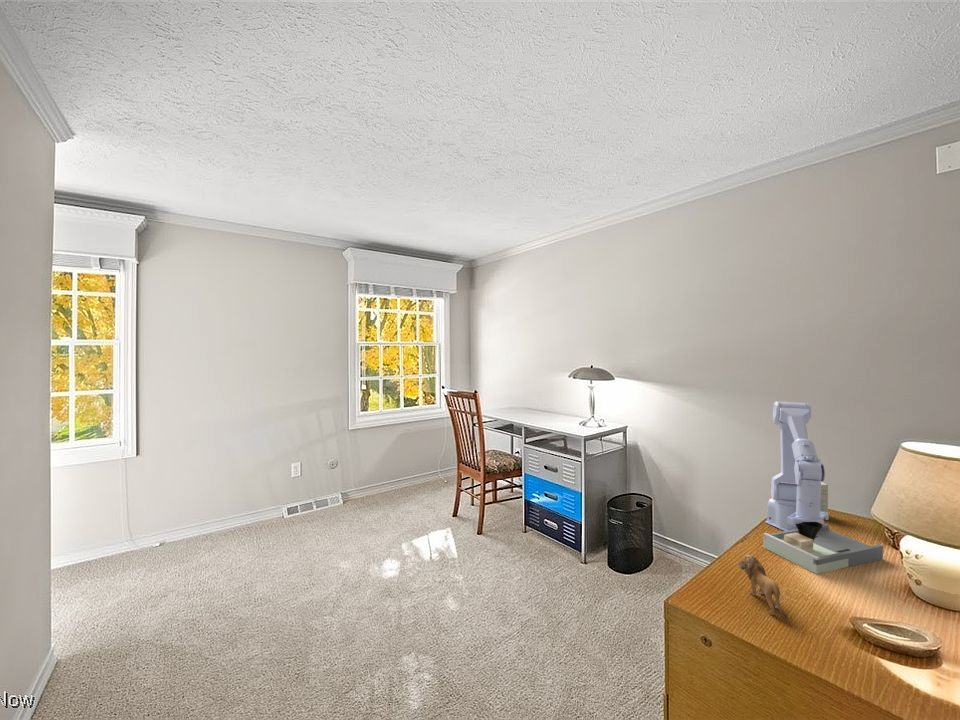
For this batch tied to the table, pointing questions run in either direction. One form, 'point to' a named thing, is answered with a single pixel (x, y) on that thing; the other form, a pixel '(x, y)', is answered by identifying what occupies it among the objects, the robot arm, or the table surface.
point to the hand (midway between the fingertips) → (807, 544)
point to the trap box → (824, 550)
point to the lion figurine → (761, 582)
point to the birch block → (799, 541)
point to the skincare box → (824, 497)
